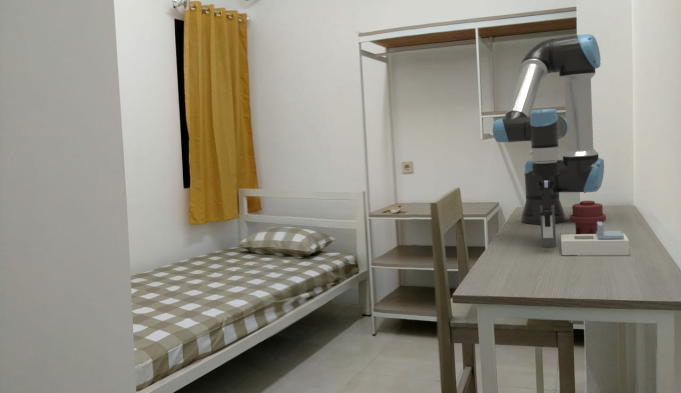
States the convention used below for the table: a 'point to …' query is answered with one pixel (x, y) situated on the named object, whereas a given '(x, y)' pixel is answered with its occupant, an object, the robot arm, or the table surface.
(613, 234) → the panel
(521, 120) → the robot arm
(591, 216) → the mechanical component
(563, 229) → the table surface
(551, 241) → the plug
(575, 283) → the table surface
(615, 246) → the socket
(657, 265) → the table surface
